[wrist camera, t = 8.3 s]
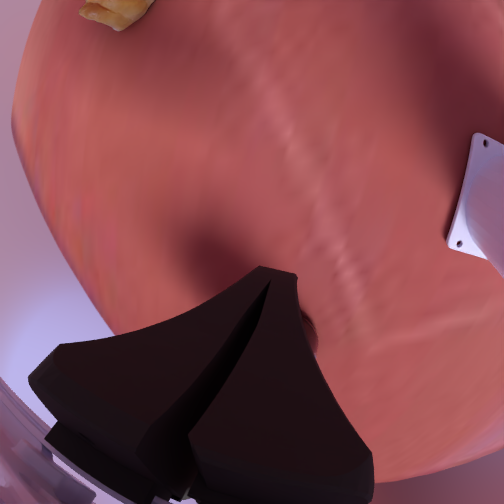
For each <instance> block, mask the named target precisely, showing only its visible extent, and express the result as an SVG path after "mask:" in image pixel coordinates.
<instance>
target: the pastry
mask: <svg viewBox="0 0 504 504" xmlns="http://www.w3.org/2000/svg"><path fill="white" fill-rule="evenodd" d="M154 1H155V0H86V3H85V5H84V6H83V7H82V8H81V9H80V10H79V15H81V16H83V17H85V18H86V19H89V20H95V21H96V22H100V23H103V24H106V25H108V26H110V27H112V28H113V29H114V30H117V31H122V30H124V29H126V28H127V27H128V26H129V25H131V24H132V23H134V22H135V21H137V20H138V19H140V18H141V17H142V16H143V15H144V14H145V13H146V11H147V9H148V7H149V6H150V5H151V4H152V3H153V2H154Z"/></svg>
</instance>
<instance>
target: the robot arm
mask: <svg viewBox="0 0 504 504" xmlns="http://www.w3.org/2000/svg"><path fill="white" fill-rule="evenodd" d="M484 140H485V141H486V146H485V147H484V145H483V141H484ZM459 240H461V242H460V244H459V245H456V244H457V242H458V241H459ZM446 243H447V245H448V246H449V248H451V249H454V250H457V251H461V252H464V253H468V254H471V255H474V256H478V257H481V258H484V259H487V260H489V261H490V262H491V263H492V265H493V266H494V267H495V268H496V270H497V271H498V272H499V273H500V275H501V276H502V277H503V278H504V145H503V144H501V143H499V142H497V141H496V140H494V139H492V138H490V137H488V136H486V135H484V134H481V133H474V134H473V136H472V141H471V147H470V153H469V158H468V163H467V168H466V173H465V177H464V181H463V185H462V189H461V193H460V197H459V201H458V204H457V208H456V211H455V215H454V218H453V221H452V224H451V227H450V230H449V233H448V236H447V240H446ZM297 279H298V277H297V276H296V274H294V273H289V272H285V271H280V270H276V269H272V268H267V267H263V266H258V267H257V268H255V269H254V270H252V271H251V272H250V273H248V274H247V275H246V276H244V277H243V278H242V279H240V280H239V281H237V282H236V283H235V284H233V285H232V286H230V287H229V288H227V289H226V290H224V291H223V292H221V293H220V294H218V295H216V296H215V297H213V298H211V299H209V300H208V301H206V302H204V303H203V304H201V305H199V306H197V307H195V308H193V309H191V310H189V311H187V312H185V313H183V314H181V315H178V316H176V317H174V318H171V319H169V320H166V321H163V322H161V323H158V324H155V325H152V326H149V327H146V328H143V329H140V330H137V331H133V332H129V333H125V334H122V335H117V336H112V337H108V338H103V339H97V340H91V341H83V342H74V343H65V344H59V346H57V347H56V348H55V349H54V350H53V351H52V352H51V353H50V354H49V355H48V356H47V357H46V358H45V359H44V360H43V361H42V362H41V363H40V364H39V366H38V367H37V368H36V369H35V370H34V371H33V372H32V373H31V374H30V375H29V376H28V382H29V385H30V387H31V388H32V390H33V391H34V393H35V394H36V395H37V397H38V398H39V399H40V400H41V402H42V403H43V404H44V405H45V407H46V408H47V409H48V410H49V411H50V412H51V414H52V415H53V416H54V417H55V418H56V419H57V420H58V421H57V422H56V424H55V425H54V426H53V427H52V428H50V427H49V426H48V425H47V424H46V423H45V422H43V421H42V420H41V419H40V418H39V417H38V416H37V415H36V414H35V413H34V412H33V411H32V410H31V409H29V407H28V406H27V405H26V404H25V403H24V402H23V401H22V400H21V399H20V398H19V397H18V396H17V395H16V394H15V393H14V392H13V391H12V390H11V389H10V387H8V385H7V384H6V383H5V382H4V381H3V380H2V379H1V377H0V504H95V503H94V502H92V501H93V500H94V498H95V497H96V493H95V492H94V491H93V490H91V489H90V488H89V487H87V486H86V485H85V484H84V483H82V482H81V481H79V480H78V479H77V478H75V477H74V476H73V475H71V474H69V473H68V472H67V471H65V470H64V469H63V468H61V467H60V466H59V465H57V464H56V463H55V462H54V461H53V455H52V453H53V454H54V455H55V456H57V457H58V458H59V459H60V460H61V461H63V462H64V463H65V464H66V465H68V466H69V467H70V468H72V469H73V470H74V471H75V472H77V473H78V474H80V475H81V476H82V477H84V478H85V479H87V480H88V481H90V482H91V483H92V484H94V485H95V486H97V487H98V488H100V489H101V490H103V491H104V492H106V493H108V494H109V495H111V496H112V497H114V498H116V499H117V500H119V501H121V502H123V503H124V504H172V503H170V502H169V500H170V498H171V499H174V500H176V501H179V502H181V500H186V499H190V498H193V499H195V500H196V502H197V503H198V504H368V503H370V502H371V501H372V497H373V492H374V466H373V457H372V452H371V451H370V449H369V448H368V447H367V446H366V444H365V443H364V442H363V440H362V439H361V438H360V436H359V435H358V433H357V432H356V431H355V429H354V428H353V426H352V425H351V423H350V422H349V420H348V419H347V417H346V416H345V414H344V412H343V411H342V409H341V408H340V406H339V404H338V403H337V401H336V399H335V397H334V395H333V393H332V391H331V390H330V388H329V386H328V384H327V382H326V380H325V378H324V377H323V374H322V372H321V370H320V368H319V366H318V363H317V361H316V359H315V356H314V354H313V351H312V349H311V346H310V343H309V340H308V337H307V334H306V330H305V327H304V324H303V320H302V316H301V311H300V306H299V301H298V294H297Z"/></svg>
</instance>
